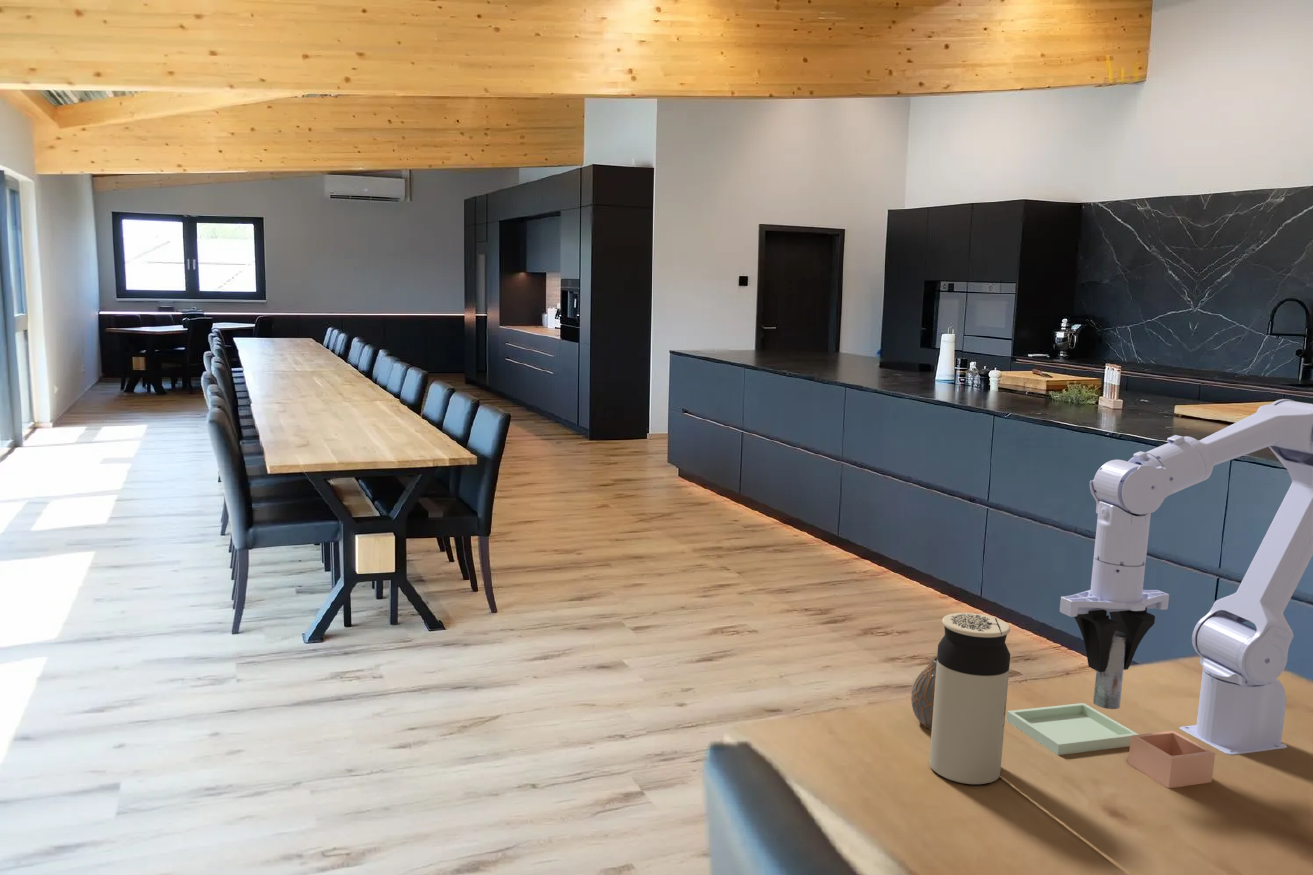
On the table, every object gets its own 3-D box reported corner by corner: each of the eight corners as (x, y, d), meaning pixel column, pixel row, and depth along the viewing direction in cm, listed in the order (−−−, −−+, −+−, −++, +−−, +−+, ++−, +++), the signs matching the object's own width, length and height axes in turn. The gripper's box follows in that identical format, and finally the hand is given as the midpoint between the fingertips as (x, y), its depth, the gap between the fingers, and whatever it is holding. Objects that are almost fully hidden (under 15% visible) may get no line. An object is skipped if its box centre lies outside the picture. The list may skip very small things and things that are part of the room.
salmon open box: (1169, 761, 121) (1173, 730, 121) (1211, 785, 115) (1215, 753, 115) (1127, 767, 119) (1131, 735, 119) (1167, 792, 113) (1171, 758, 113)
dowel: (1106, 698, 125) (1112, 628, 124) (1125, 707, 122) (1132, 636, 121) (1087, 701, 124) (1094, 630, 123) (1107, 710, 121) (1113, 638, 120)
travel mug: (926, 778, 115) (937, 628, 112) (932, 749, 122) (942, 607, 120) (999, 792, 112) (1012, 638, 110) (1000, 762, 120) (1013, 617, 117)
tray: (1082, 715, 134) (1083, 702, 134) (1138, 748, 124) (1139, 734, 124) (1005, 724, 130) (1007, 710, 130) (1057, 758, 121) (1058, 744, 121)
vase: (967, 739, 126) (972, 672, 124) (910, 732, 127) (915, 666, 126) (962, 716, 132) (967, 653, 131) (908, 710, 134) (913, 648, 132)
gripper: (1094, 572, 115) (1082, 685, 117) (1193, 566, 119) (1181, 674, 121) (1052, 556, 121) (1042, 663, 123) (1148, 551, 126) (1136, 654, 128)
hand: (1108, 667), depth 123 cm, fingers closed on dowel, 3 cm apart
